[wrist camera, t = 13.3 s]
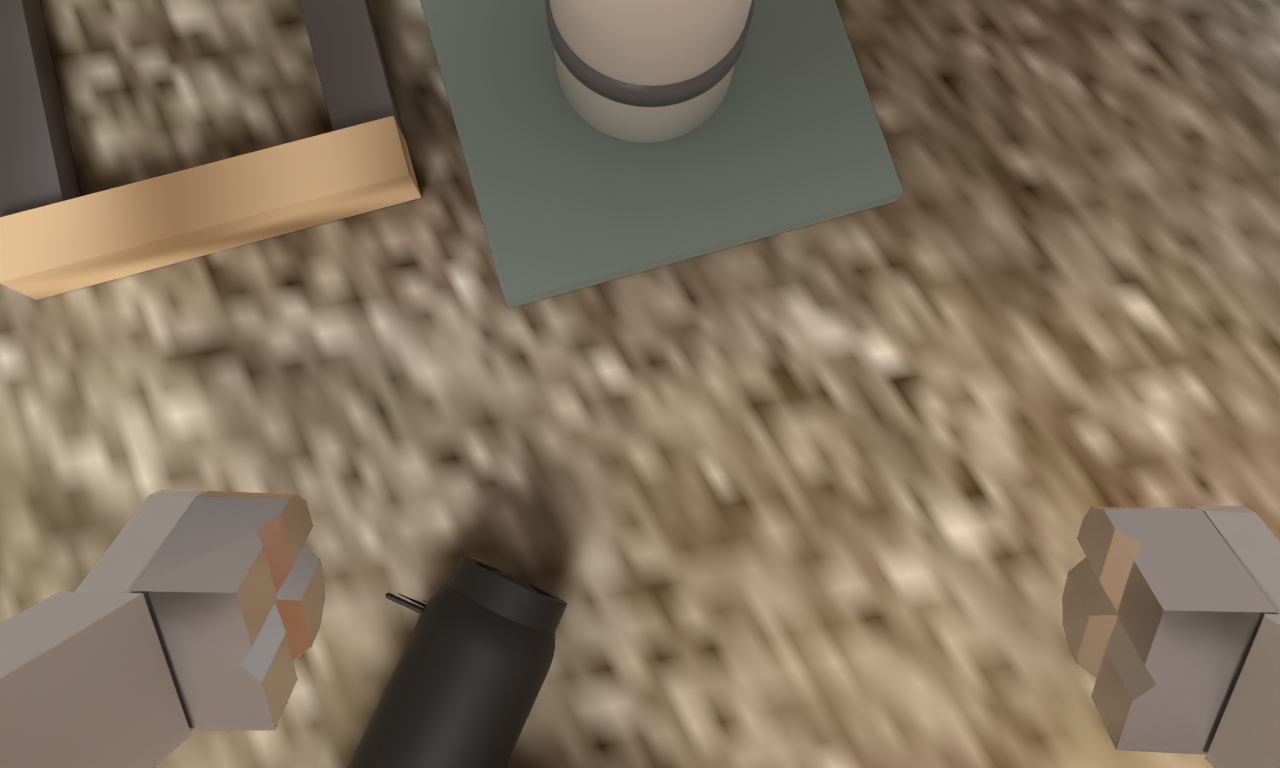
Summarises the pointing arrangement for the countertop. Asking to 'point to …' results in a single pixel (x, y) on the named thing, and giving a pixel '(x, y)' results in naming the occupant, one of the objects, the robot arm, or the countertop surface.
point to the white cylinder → (646, 61)
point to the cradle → (196, 197)
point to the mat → (654, 148)
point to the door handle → (464, 674)
